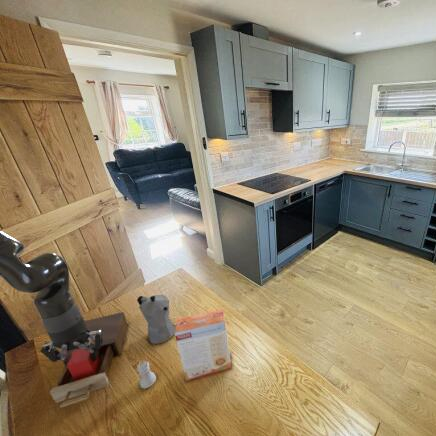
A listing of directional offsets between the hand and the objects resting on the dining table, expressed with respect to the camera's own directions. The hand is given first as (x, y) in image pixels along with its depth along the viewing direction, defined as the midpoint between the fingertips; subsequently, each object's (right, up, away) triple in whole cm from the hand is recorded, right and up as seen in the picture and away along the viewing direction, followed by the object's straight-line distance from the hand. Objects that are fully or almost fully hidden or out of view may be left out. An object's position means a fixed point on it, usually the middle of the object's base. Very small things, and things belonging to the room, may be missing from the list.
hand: (83, 362), depth 73 cm
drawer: (0, -6, +1) cm, 6 cm away
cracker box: (+36, -6, +7) cm, 37 cm away
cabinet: (-5, -2, +13) cm, 14 cm away
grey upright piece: (+13, 0, +18) cm, 23 cm away
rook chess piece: (+19, -7, +2) cm, 20 cm away
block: (0, -5, +2) cm, 5 cm away
